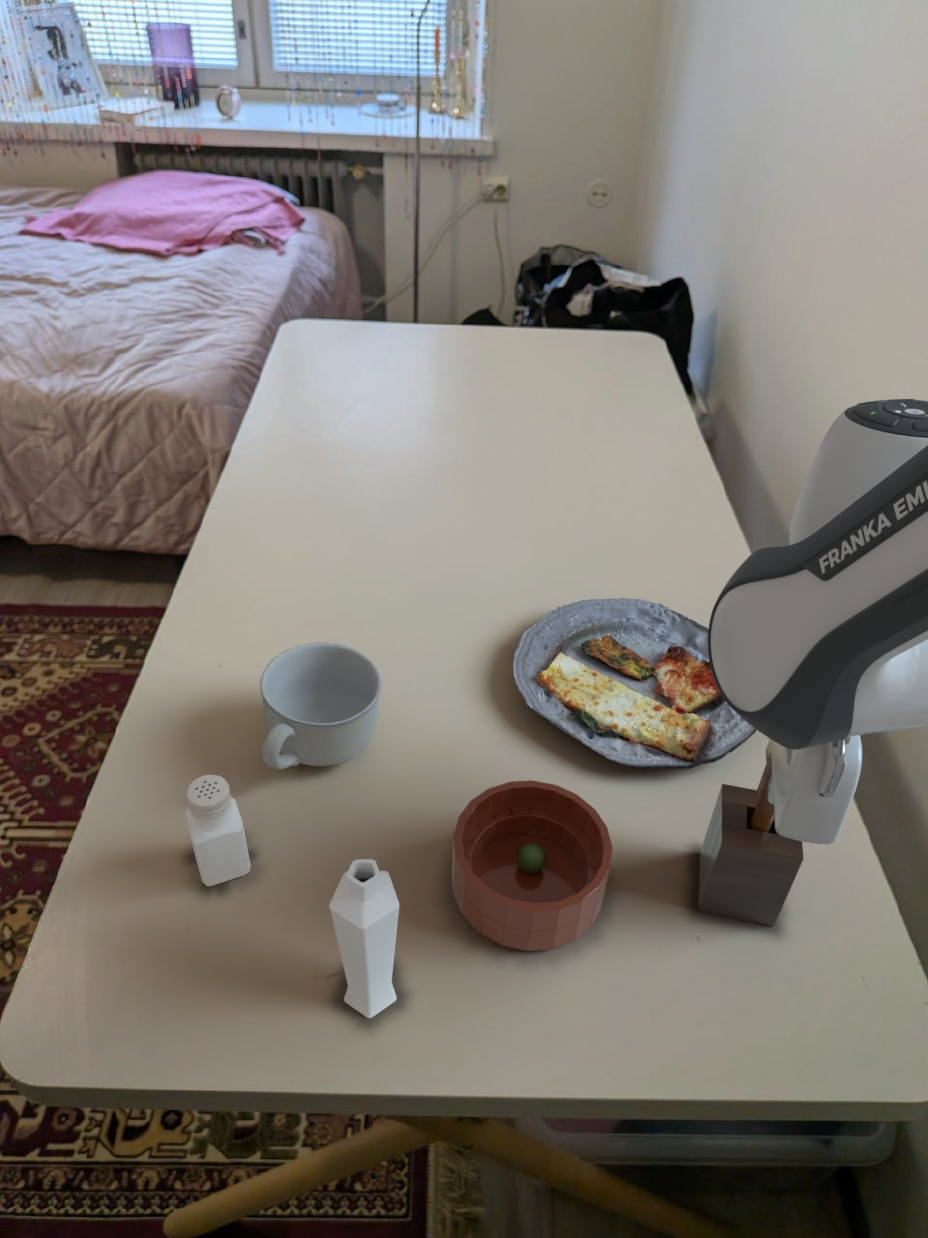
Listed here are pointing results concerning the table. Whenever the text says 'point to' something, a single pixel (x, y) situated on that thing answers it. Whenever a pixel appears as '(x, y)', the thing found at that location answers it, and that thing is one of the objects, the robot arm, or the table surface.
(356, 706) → the teacup
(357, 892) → the white faceted bottle
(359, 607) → the table surface
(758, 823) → the stirring stick
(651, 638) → the food plate
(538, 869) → the bead
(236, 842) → the salt shaker
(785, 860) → the utensil block
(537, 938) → the bowl
